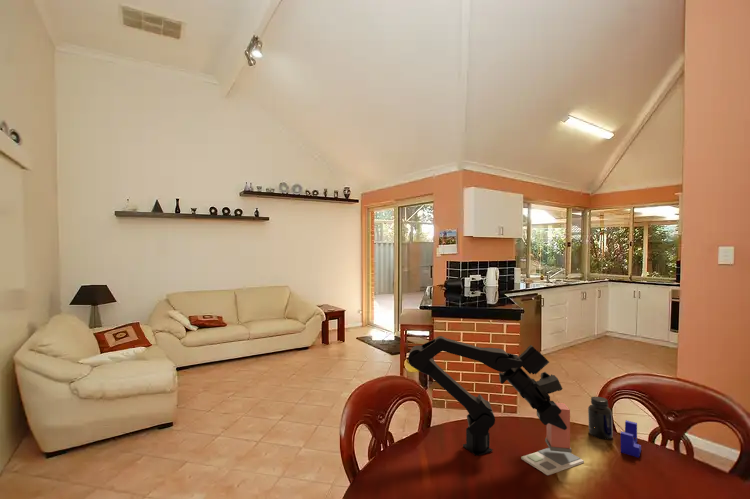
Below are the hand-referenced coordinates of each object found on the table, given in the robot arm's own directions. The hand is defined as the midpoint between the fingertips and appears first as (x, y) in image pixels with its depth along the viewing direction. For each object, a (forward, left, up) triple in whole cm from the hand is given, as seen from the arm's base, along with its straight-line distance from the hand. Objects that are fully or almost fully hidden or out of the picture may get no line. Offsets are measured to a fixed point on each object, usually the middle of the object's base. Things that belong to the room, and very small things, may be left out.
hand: (562, 424), depth 106 cm
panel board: (-4, 0, -10) cm, 11 cm away
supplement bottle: (+24, +4, -10) cm, 26 cm away
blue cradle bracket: (+25, -5, -10) cm, 28 cm away
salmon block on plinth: (-1, +1, -7) cm, 7 cm away
